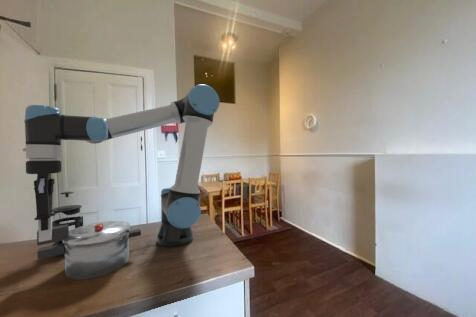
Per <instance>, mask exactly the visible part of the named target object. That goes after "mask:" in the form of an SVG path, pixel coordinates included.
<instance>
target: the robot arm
mask: <svg viewBox="0 0 476 317" xmlns="http://www.w3.org/2000/svg"><path fill="white" fill-rule="evenodd" d="M219 107H220V97H219V94H218V93H217V92H216V90H215V89H214V88H213V87H211V86H210V85H208V84H197V85H195V86H194V87H193V86H192V88H190V90H189V91H188V93H186V95H185V96H184V97H183V98H181V99H179V100H176V101H171V103H170V105H165V106H159V107H155V108H150V109H147V110H141V111H136V112H132V113H127V114H123V115H118V116H113V117H109V118H104V117H96V116H82V115H81V116H80V115H68V114H67V115H65V114H62V113H61V109H60V108H58V107H55V106H51V105H44V104H31V105H28V106H27V107H26V108H25V111H24V112H25V113H24V114H25V115H24V132H25V135H24V136H25V147H23V148H22V151H23V152H25V158H26V159H27V160H26V161H25V173H26V174H27V175H37V176H36V179H35V180H33V186H34V188H33V190H34V194H35V206H36V207H35V208H36V217H34V221H37V222H38V229H37V231H38V230H39V242H42V241H47V240H52V222H53V217H54V216H56V214H55V213H53V210H52V209H53V202H54V201H53V200H54V199H53V197H54V196H53V194H54V185H55V178H52V174H58V173H59V174H60V173H61V172H62V161H61V160H60V159H62V141H84V142H87V143H89V144H96V145H97V144H100V143H102V142H106V141H108V140H111V139H116V138H119V137H124V136H127V135H131V134H134V133H135V134H136V133H139V132H142V131H146V130H150V129H151V130H152V129H154V128H159V127H162V126H166V125H170V124H174V123H176V124H178V125H179V124H184V123H185V126H184V129H183V130H184V131H183V132H184V133H183V137H182V142H181V149H180V153H179V157H178V158H179V159H178V165H177V170H176V175H175V176H176V177H175V181H174V184H173V185H172V186H170V187H167V188H162V189H161V192H160V197H161V198H160V199H161V200H160V203H161V204H160V207H161V208H160V209H161V210H160V211H161V212H160V214H161V215H160V216H161V217H160V218H161V219H160V220H161V224H160V225H159V226H160V227H159V230H158V233H157V238H156V242H157V244H158V245H160V246H162V247H178V246H183V245H185V244H188V243H190V242H191V241H192V240H193V238H194V231H193V229H192V228H193V227H192V226H193V225H195V224H196V223H197V222H198V221H199V219H200V218H201V217H200V216H201V213H202V210H201V205H200V197H201V190H199V188H198V187H199V180H200V173H201V169H202V162H203V157H204V152H205V145H206V144H205V143H206V140H207V139H206V138H207V134H208V128H209V127H211V126H212V125H213V122H214V117H215V113H216V112H217V111H218V109H219Z"/></svg>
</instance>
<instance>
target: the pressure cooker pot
mask: <svg viewBox="0 0 476 317" xmlns="http://www.w3.org/2000/svg"><path fill="white" fill-rule="evenodd" d="M141 230H142V229H140V228H138V229H135V230H130V231H129V232H128V233H127V234H126V235H124V236H122V237H120V238H118V239H115V240H112V241H109V242H105V243H101V244H96V245H90V246H67V245H65V244H63V243H62V244H57V245H53V244H52V245H48V246H43V247H39V248H38V249H37V260H43V259H48V258H53V257H58V256H57V255H61V254H64V253H65V256H64V270H65V271H64V274H65V276H66V277H67V278H68V279H71V280H89V279H94V278H98V277H102V276H105V275H107V274H110V273H113V272H115V271H116V270H117V271H118V269H120V268H121V267H123V266H124V265H126V263H128V261H129V259H130V239H131V238H134V237H139V236H142V231H141Z"/></svg>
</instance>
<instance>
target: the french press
mask: <svg viewBox="0 0 476 317" xmlns="http://www.w3.org/2000/svg"><path fill="white" fill-rule="evenodd" d="M74 193H75V192H74V191H63V192H60V193H59V194H60V195H64V196H65V198H66V202H65V203H66V205H64V206H63V205H62V206H57V207H54V208H52V210H53V212H52V213H55V215H56V214H59V213H62V214H63V215H66V217H62V218H59V219H56V220H54V221H53V220H52V227H55V226H60V225H66V224H69V227H72V226H74V229H75V228H78V227H81V226H84V216H83V215H78V216H71V215H76V214H78V213H81V208H83V207H82V205H80V204H73V205H72V204H70V205H69V200H68V199H69V196H70V194H71V195H72V194H74ZM69 221H70V222H69ZM62 243H63V242H62V241H58V242H53V243H52V245H57V244H62ZM56 257H65V253H64V254H61V255H57V256H56Z"/></svg>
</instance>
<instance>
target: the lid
mask: <svg viewBox="0 0 476 317" xmlns="http://www.w3.org/2000/svg"><path fill="white" fill-rule="evenodd" d="M69 227H70V226H69V224H66V225H60V226H55V227H52V240H47V241H42V242H39V230H38V229H37V231H36V244H37V246H43V245H47V244H54V243H55V242H58V241H62V242H63V244H65V245H67V246H90V245H96V244H101V243H105V242H109V241H112V240H115V239H118V238H120V237H122V236H124V235H126V234H127V233H128V232H129V231H131V224H130V223H129V222H128V221H127V222H126V221H121V220H110V221H109V220H107V221H100V222H94V223H90V224H89V223H88V224H85V225H83V226H81V227H78V228H75V227H74V228H73V229H70V230H69Z"/></svg>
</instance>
